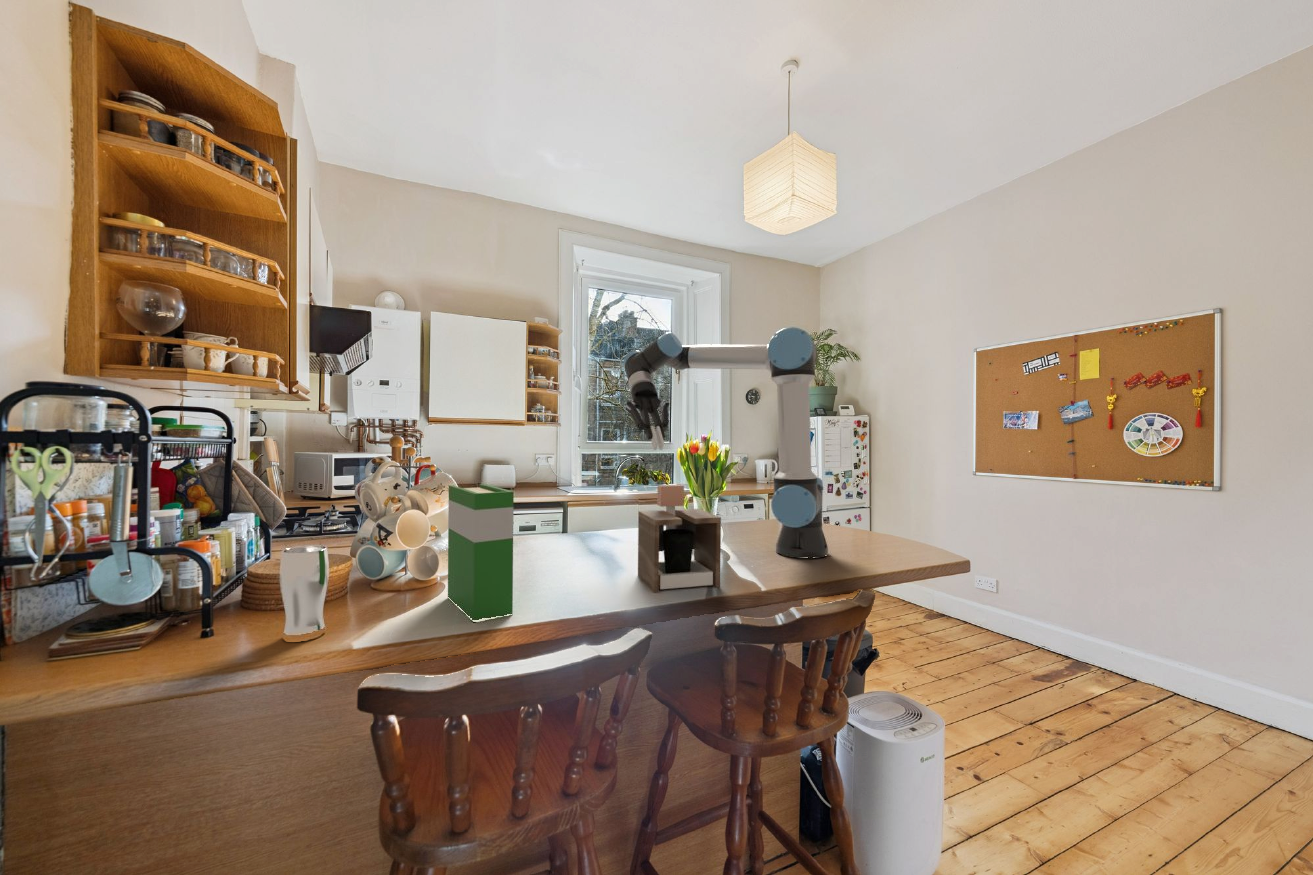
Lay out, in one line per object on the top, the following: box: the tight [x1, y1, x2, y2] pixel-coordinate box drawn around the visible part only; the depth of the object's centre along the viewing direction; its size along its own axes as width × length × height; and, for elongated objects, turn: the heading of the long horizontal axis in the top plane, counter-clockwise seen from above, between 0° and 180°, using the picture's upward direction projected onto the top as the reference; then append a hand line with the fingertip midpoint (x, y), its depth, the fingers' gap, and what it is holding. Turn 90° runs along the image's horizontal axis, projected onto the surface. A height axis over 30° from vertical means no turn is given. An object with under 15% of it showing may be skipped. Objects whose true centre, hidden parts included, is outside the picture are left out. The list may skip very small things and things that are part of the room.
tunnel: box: [637, 508, 722, 594], centre depth 123 cm, size 16×14×16 cm
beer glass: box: [279, 544, 330, 635], centre depth 88 cm, size 7×7×15 cm
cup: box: [662, 529, 694, 574], centre depth 123 cm, size 8×8×12 cm
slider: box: [656, 484, 713, 590], centre depth 123 cm, size 13×14×22 cm
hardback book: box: [447, 483, 515, 620], centre depth 103 cm, size 18×7×24 cm, turn 37°
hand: (658, 446), depth 138 cm, fingers closed
